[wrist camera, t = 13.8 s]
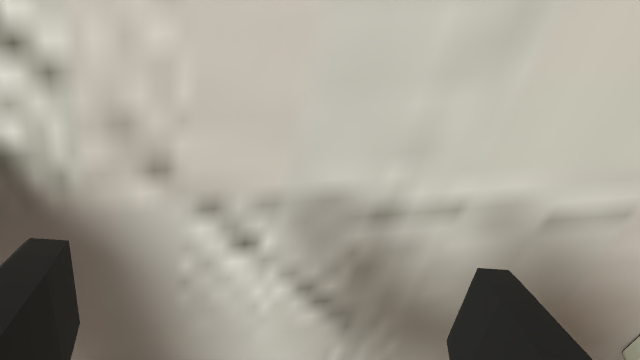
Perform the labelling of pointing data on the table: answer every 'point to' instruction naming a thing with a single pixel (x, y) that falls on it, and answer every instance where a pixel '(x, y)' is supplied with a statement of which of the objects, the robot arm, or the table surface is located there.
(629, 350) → the skincare box
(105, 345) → the table surface
